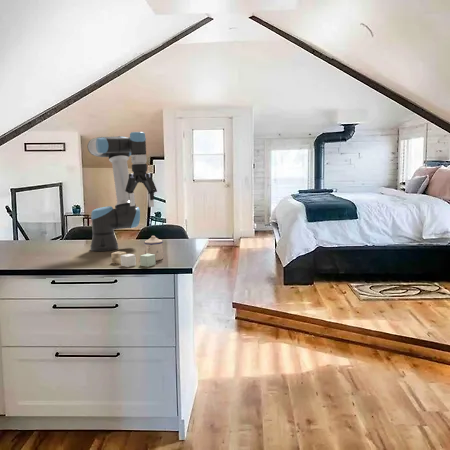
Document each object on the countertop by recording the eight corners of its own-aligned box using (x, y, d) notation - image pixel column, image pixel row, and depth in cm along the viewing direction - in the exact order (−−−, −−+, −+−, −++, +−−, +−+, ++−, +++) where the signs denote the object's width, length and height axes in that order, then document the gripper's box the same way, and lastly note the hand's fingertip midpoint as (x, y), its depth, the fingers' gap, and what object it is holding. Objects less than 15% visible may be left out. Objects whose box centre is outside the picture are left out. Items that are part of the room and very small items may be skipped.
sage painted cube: (140, 265, 243) (139, 255, 242) (148, 263, 246) (147, 253, 246) (147, 266, 239) (147, 256, 239) (155, 264, 243) (155, 254, 243)
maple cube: (111, 263, 250) (111, 253, 249) (118, 261, 254) (118, 251, 254) (120, 264, 248) (119, 253, 247) (126, 262, 252) (126, 252, 251)
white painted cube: (121, 265, 244) (120, 255, 243) (129, 263, 247) (129, 253, 247) (127, 267, 240) (126, 256, 240) (136, 265, 244) (135, 254, 243)
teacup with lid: (150, 256, 262) (149, 234, 261) (166, 257, 259) (165, 234, 257) (138, 261, 251) (137, 238, 250) (155, 262, 248) (153, 238, 246)
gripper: (116, 164, 260) (119, 206, 262) (151, 163, 244) (153, 207, 247) (128, 164, 265) (130, 205, 268) (162, 162, 250) (164, 206, 253)
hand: (141, 206), depth 258 cm, fingers open, 13 cm apart
